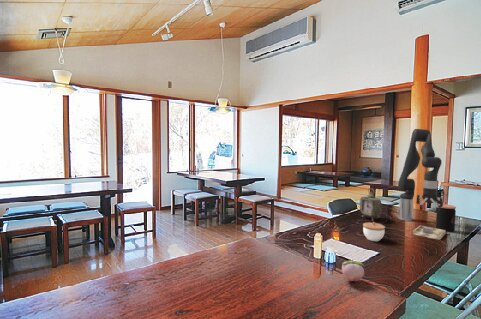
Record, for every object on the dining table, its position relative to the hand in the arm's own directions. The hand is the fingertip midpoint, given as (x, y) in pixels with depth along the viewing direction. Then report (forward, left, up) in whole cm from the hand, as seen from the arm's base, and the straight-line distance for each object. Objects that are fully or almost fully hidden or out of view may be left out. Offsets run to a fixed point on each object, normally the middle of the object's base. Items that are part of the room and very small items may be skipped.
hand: (429, 211), depth 181 cm
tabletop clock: (-43, +15, -17) cm, 48 cm away
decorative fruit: (-9, -96, -17) cm, 97 cm away
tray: (0, +4, -17) cm, 17 cm away
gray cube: (0, 0, -16) cm, 16 cm away
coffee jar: (+5, +23, -17) cm, 29 cm away
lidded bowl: (-23, -33, -17) cm, 43 cm away
